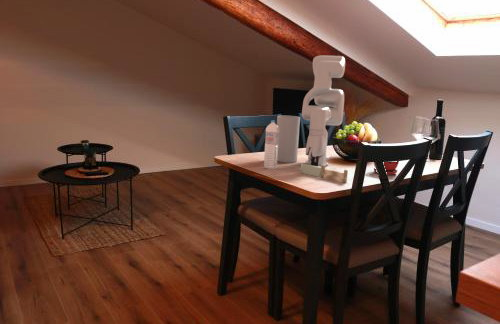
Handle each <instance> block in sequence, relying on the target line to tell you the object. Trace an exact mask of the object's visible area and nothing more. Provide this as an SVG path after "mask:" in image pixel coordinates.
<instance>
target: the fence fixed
mask: <svg viewBox="0 0 500 324" xmlns="http://www.w3.org/2000/svg"><path fill="white" fill-rule="evenodd" d="M320 167H321V177H320V178H321V179H324V180H325V179H326V180H331V181H333V182H338V183H343V184H347V181H348V174H349V173H348V169H344V171H343V172H342V171H337V170H333V169H328V168H326V166H325V165H322V166H320Z"/></svg>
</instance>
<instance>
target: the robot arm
mask: <svg viewBox="0 0 500 324" xmlns="http://www.w3.org/2000/svg"><path fill="white" fill-rule="evenodd" d="M345 67H346V58H345V57H344V56H342V55H317V56H315V57H313V60H312V71H313V76H314V81H313V87H312V88H311V89H309V91H308V92H307V93H306V94H305V96H304V98H303V102H302V110H301V117H302V118H303V120H305V121H309V132H308V137H307V140H306V146H305V147H306V148H305V156H307V160H305V161H304V164H308V165H313V166H317V167H322V165H325V167H328V166H329V162H327V161H328V160H330V155H327V148H328V136H329V133H328V130H327V129H326V126H340V125H342V123H343V120H344V108H345V92H344V91H343V90H342V89H339V88H332V82H333V81H332V78H336V79H340V78H342V77H344V74H345V71H346V68H345ZM313 99H314V103H315V104H314V105H309V104H310V102H311V101H312V100H313Z"/></svg>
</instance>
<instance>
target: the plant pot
mask: <svg viewBox="0 0 500 324" xmlns="http://www.w3.org/2000/svg"><path fill="white" fill-rule="evenodd" d="M399 162H400V160H399V161H397V162H384V166H385V169H386V172H387V175H386V176H393V175H396V174H397V173H398V170H397V167H398V165H399ZM373 165H374V164H373ZM373 171H374V172H375V173H376V174H378V173H377V172H376V169H375V165H374V168H373Z"/></svg>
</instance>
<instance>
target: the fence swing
mask: <svg viewBox="0 0 500 324" xmlns="http://www.w3.org/2000/svg"><path fill="white" fill-rule="evenodd" d="M321 167H322V166H318V167H317V166H313V165H310V164H306V163H305V162H304V163H302V162H301V164H300V171H299V172H300V173H301V174H305V175H310V176H313V177H317V178H321Z"/></svg>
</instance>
